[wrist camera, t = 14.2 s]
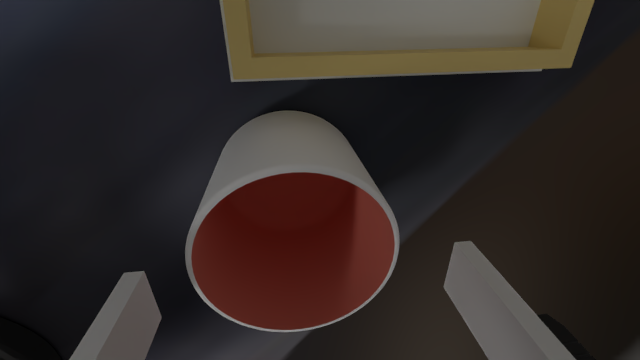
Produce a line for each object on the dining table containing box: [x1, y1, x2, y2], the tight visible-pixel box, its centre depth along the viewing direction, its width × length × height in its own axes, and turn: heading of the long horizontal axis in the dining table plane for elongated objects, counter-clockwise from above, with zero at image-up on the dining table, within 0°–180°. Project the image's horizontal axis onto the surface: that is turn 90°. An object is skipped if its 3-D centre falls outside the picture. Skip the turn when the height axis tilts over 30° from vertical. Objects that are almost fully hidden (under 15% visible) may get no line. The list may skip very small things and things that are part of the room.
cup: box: [185, 110, 399, 332], centre depth 18 cm, size 10×10×10 cm
